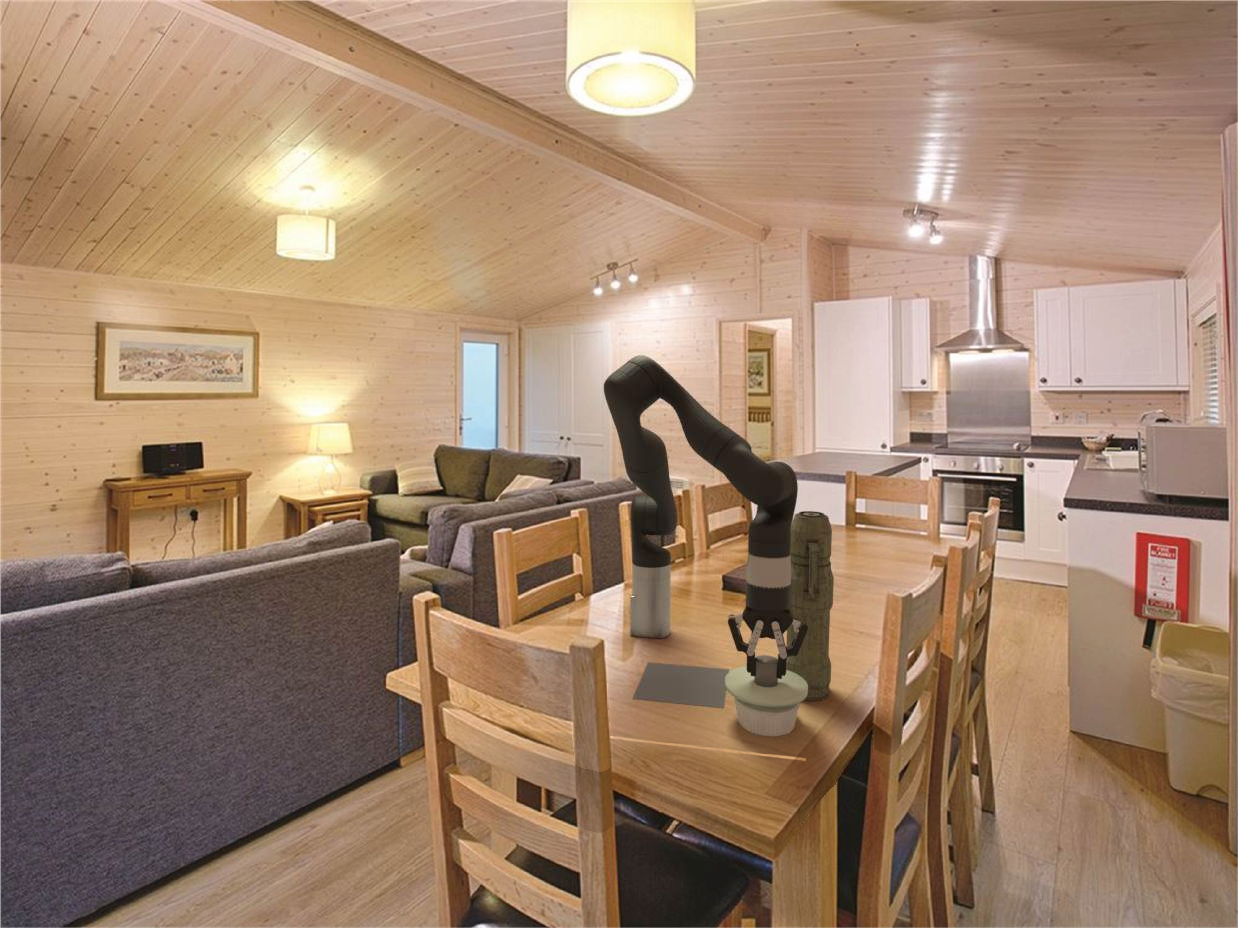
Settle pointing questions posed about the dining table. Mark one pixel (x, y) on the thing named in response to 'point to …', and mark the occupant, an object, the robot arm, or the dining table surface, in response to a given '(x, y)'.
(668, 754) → the dining table surface
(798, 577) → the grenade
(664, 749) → the dining table surface
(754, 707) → the ramekin
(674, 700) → the mat
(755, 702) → the lid
